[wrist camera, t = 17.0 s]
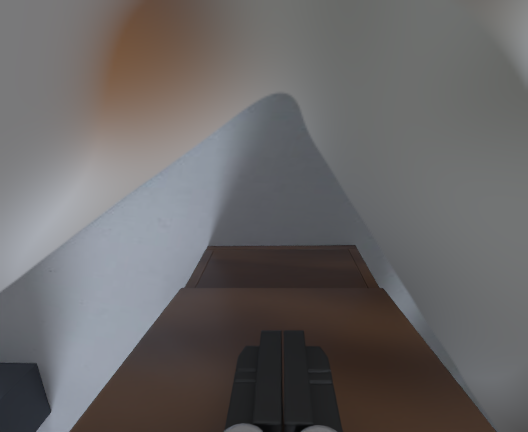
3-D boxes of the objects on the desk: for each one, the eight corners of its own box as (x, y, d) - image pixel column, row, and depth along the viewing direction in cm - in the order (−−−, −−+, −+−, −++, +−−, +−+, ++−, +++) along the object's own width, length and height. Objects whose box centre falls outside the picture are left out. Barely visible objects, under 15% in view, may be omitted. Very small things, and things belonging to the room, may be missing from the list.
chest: (347, 366, 33) (367, 439, 26) (218, 364, 34) (200, 434, 26) (355, 245, 29) (381, 289, 21) (207, 246, 30) (183, 289, 22)
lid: (589, 583, 7) (595, 554, 7) (-2, 554, 8) (-8, 526, 8) (382, 298, 21) (383, 287, 21) (181, 298, 22) (180, 287, 22)
